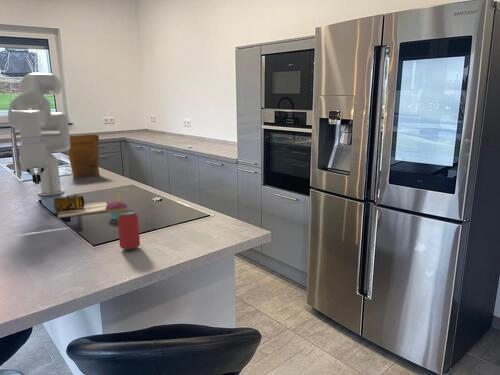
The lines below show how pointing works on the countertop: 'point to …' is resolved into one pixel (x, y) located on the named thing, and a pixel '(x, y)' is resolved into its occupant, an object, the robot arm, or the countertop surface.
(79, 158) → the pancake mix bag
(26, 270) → the countertop surface
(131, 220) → the beer can
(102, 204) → the cutting board
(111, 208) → the cupcake
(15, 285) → the countertop surface
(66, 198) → the condiment
